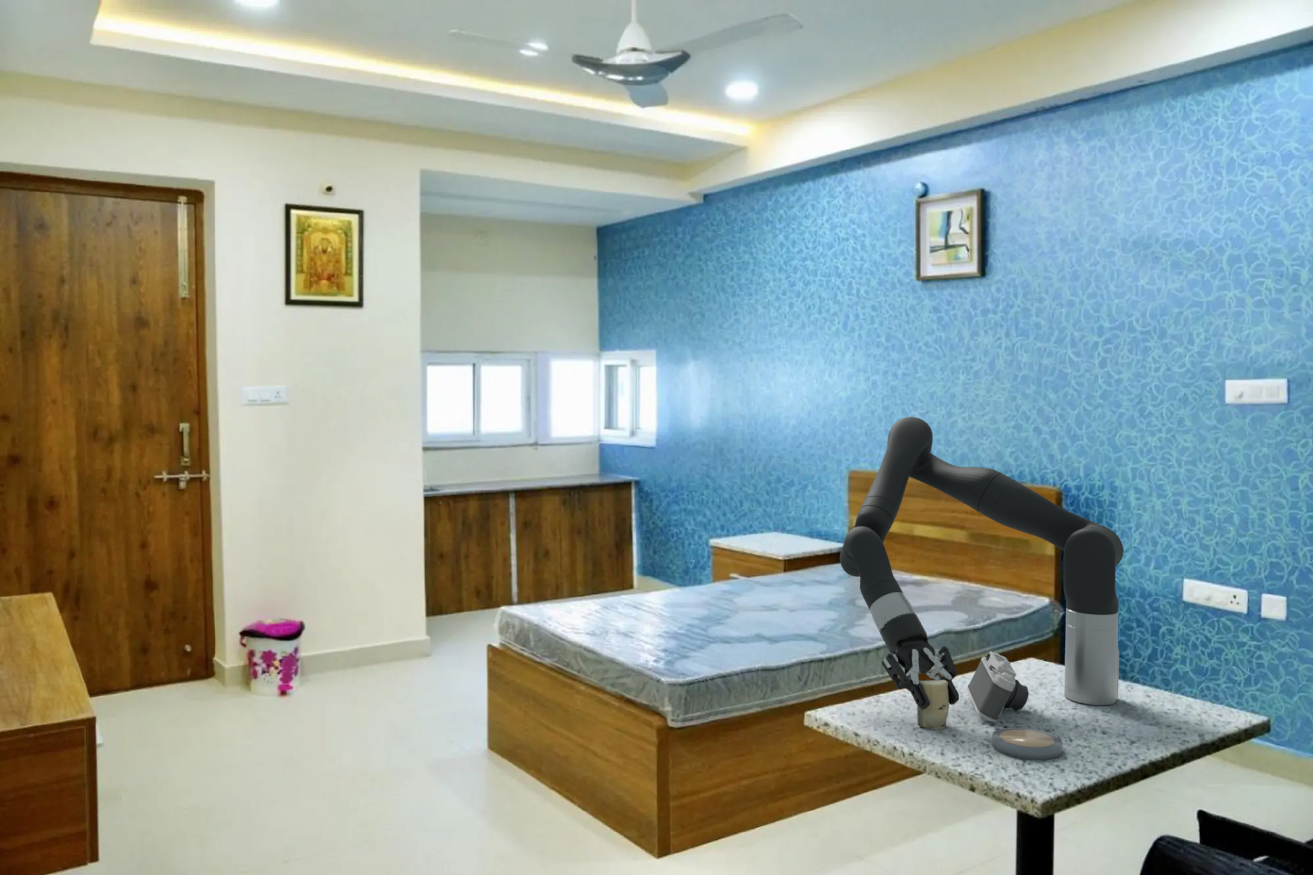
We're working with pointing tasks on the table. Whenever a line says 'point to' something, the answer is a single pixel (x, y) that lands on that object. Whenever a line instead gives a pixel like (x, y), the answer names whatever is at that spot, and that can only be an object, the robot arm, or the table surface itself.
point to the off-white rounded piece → (934, 704)
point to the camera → (996, 688)
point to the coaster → (1027, 743)
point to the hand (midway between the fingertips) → (940, 704)
